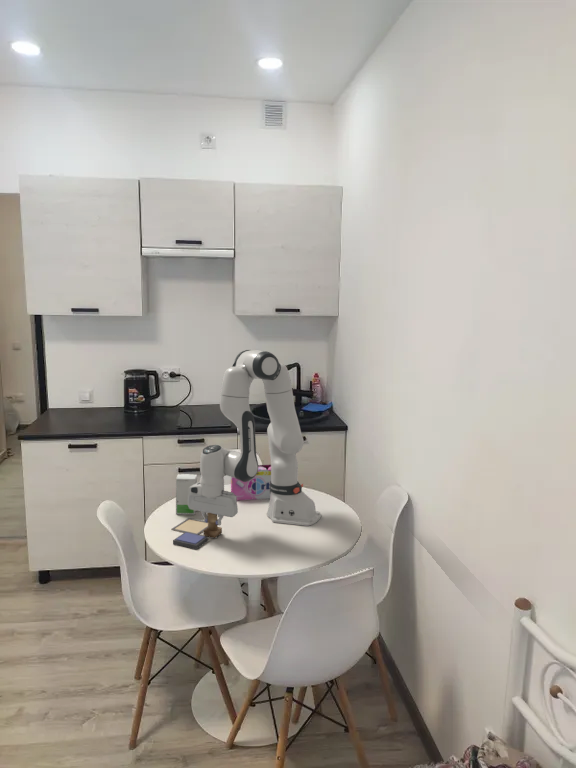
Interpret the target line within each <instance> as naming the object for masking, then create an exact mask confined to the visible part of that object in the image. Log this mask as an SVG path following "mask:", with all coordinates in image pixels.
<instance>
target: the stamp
mask: <svg viewBox="0 0 576 768" xmlns="http://www.w3.org/2000/svg"><path fill="white" fill-rule="evenodd" d="M207 515H208V528H206V529H205V530H204V531H203V536H206V537H208V538H211V539H215V540H216V538H218V537H219V536H221V535H222V534H223V527H221V526H219V525H216V520H217V519H218V515H217V514H212V513H207Z"/></svg>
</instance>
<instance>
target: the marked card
mask: <svg viewBox="0 0 576 768" xmlns="http://www.w3.org/2000/svg"><path fill="white" fill-rule="evenodd" d="M206 528H208V523H205V522H204V520H201V519H195V518H191V517H188V518H186V519H185V520H183V521H181V522H180V523H178V524H177V525H175V526H174V527H172V528H171V529H170V530H171V531H175V532H179V533H182V534H183V533H185V532H188V533H192V534H197V535H201V534H202V533H204V530H205V529H206Z"/></svg>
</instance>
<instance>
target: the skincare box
mask: <svg viewBox="0 0 576 768" xmlns="http://www.w3.org/2000/svg"><path fill="white" fill-rule="evenodd" d="M196 483H198V474H191V473H178V474H177V475H176V478H175V515H196V512H197V510H191V509H189V507H188V494H189V493H190V492H189V487H191V486H192V485H194V484H196Z"/></svg>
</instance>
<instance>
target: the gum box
mask: <svg viewBox="0 0 576 768" xmlns="http://www.w3.org/2000/svg"><path fill="white" fill-rule="evenodd" d="M270 481H271V464H258V472H257V474H256V475H255V477H254V478H253V479H251V480H250V481H247V482H243V481H241V480H238V479H236V478H233V477H230V492H233V493H234V494H235V495H236V496H237V501H247V500H249V501H250V500H267V499H269V500H270Z"/></svg>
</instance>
